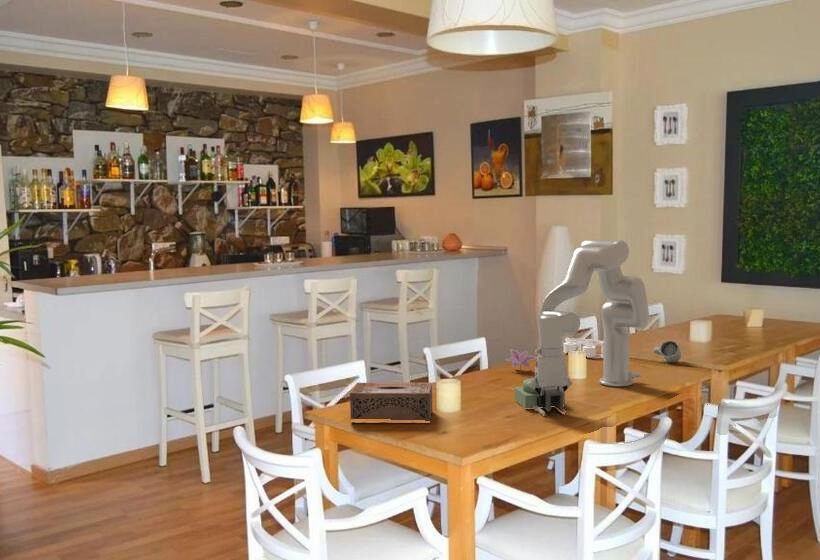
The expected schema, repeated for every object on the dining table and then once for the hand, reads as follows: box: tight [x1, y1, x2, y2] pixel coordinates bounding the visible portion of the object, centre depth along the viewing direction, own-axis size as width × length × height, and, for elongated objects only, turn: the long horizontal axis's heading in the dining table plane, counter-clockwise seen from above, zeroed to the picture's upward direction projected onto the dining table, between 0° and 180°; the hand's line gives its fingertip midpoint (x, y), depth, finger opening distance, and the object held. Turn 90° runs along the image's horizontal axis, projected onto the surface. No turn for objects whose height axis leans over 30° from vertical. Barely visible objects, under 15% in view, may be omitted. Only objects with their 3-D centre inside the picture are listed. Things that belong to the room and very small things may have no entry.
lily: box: [505, 348, 537, 374], centre depth 315 cm, size 12×12×10 cm
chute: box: [539, 387, 564, 412], centre depth 252 cm, size 5×9×6 cm, turn 9°
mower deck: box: [514, 377, 567, 415], centre depth 259 cm, size 14×21×8 cm, turn 9°
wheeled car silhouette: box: [563, 337, 604, 359], centre depth 342 cm, size 20×11×7 cm, turn 37°
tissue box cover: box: [349, 382, 433, 422], centre depth 252 cm, size 26×14×10 cm, turn 85°
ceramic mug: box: [653, 340, 682, 364], centre depth 326 cm, size 11×8×8 cm
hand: (550, 405), depth 252 cm, fingers closed on chute, 5 cm apart
